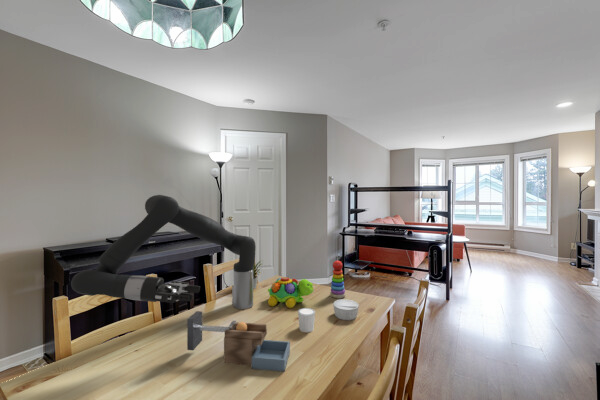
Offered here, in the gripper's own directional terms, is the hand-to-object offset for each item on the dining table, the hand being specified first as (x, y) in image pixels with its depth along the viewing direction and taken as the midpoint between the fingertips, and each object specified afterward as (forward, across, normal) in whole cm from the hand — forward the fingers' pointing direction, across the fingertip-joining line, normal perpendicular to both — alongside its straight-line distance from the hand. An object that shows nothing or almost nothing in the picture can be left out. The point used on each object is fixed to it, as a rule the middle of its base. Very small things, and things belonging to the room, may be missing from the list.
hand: (196, 293), depth 89 cm
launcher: (+19, -2, +18) cm, 26 cm away
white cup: (+41, +15, +14) cm, 46 cm away
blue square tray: (+27, -4, +17) cm, 33 cm away
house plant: (+18, +64, +15) cm, 68 cm away
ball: (+16, -2, +9) cm, 19 cm away
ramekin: (+60, +24, +11) cm, 65 cm away
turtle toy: (+36, +42, +14) cm, 58 cm away
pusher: (+8, 0, +17) cm, 18 cm away
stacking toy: (+62, +47, +10) cm, 78 cm away
